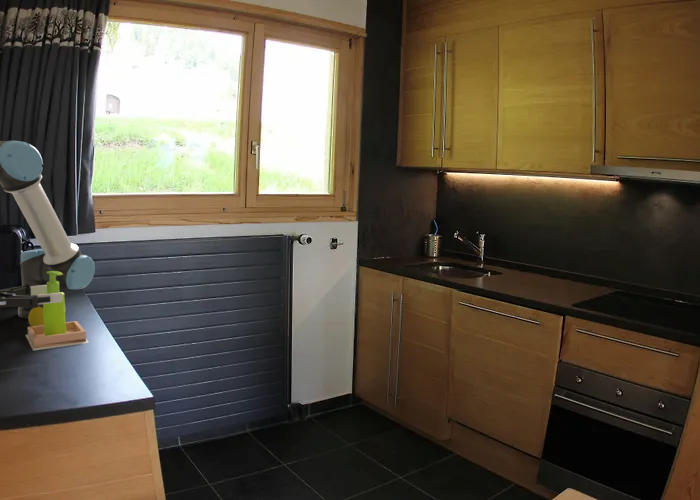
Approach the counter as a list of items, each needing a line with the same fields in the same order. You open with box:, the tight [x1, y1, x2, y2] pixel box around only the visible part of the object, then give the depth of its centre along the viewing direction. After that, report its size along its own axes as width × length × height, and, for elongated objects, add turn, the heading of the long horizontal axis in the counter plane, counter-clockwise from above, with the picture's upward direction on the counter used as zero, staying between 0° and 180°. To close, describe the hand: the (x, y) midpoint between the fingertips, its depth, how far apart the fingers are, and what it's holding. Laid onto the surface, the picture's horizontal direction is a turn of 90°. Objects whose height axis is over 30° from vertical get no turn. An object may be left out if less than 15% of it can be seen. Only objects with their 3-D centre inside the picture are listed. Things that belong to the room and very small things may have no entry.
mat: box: [25, 334, 90, 351], centre depth 189 cm, size 18×15×1 cm
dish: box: [27, 320, 87, 348], centre depth 189 cm, size 14×14×3 cm
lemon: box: [28, 306, 44, 327], centre depth 199 cm, size 6×6×8 cm
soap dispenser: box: [43, 271, 67, 336], centre depth 187 cm, size 6×7×20 cm
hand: (58, 292), depth 187 cm, fingers open, 13 cm apart
